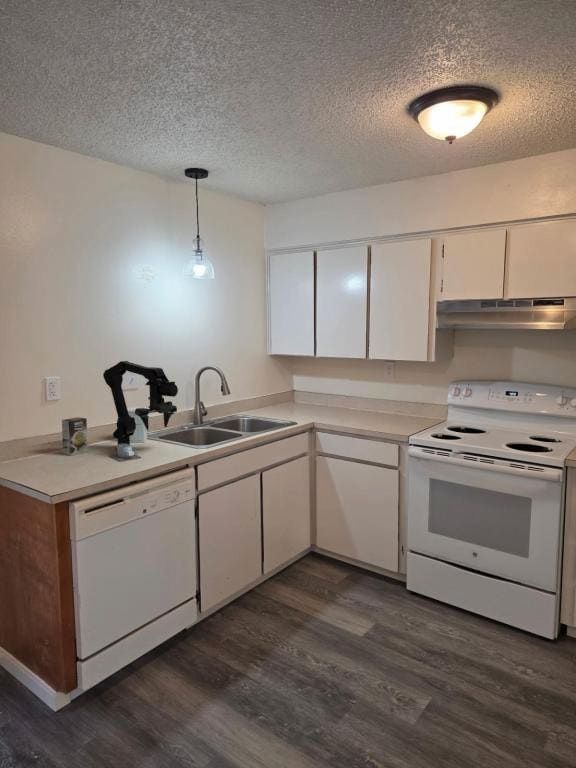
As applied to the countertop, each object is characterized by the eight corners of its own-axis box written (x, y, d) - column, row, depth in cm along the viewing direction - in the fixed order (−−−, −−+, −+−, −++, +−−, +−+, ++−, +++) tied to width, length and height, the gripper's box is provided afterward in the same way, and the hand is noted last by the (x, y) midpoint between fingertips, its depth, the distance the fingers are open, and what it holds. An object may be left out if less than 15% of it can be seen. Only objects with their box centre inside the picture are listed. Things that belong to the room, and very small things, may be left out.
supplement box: (147, 438, 266) (147, 406, 264) (144, 442, 257) (144, 409, 255) (129, 438, 265) (128, 407, 263) (125, 442, 256) (124, 410, 254)
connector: (115, 455, 230) (115, 444, 229) (124, 453, 233) (124, 442, 232) (127, 460, 222) (126, 449, 221) (136, 458, 225) (136, 447, 224)
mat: (108, 456, 229) (108, 455, 229) (129, 452, 236) (129, 451, 236) (120, 461, 220) (120, 460, 220) (141, 457, 227) (141, 457, 227)
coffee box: (71, 456, 229) (69, 421, 227) (62, 454, 233) (60, 419, 231) (88, 451, 237) (87, 418, 235) (79, 449, 240) (78, 416, 238)
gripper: (145, 399, 219) (146, 434, 221) (182, 395, 232) (183, 428, 234) (133, 396, 227) (134, 430, 229) (170, 392, 240) (171, 424, 242)
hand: (156, 428), depth 233 cm, fingers open, 9 cm apart
